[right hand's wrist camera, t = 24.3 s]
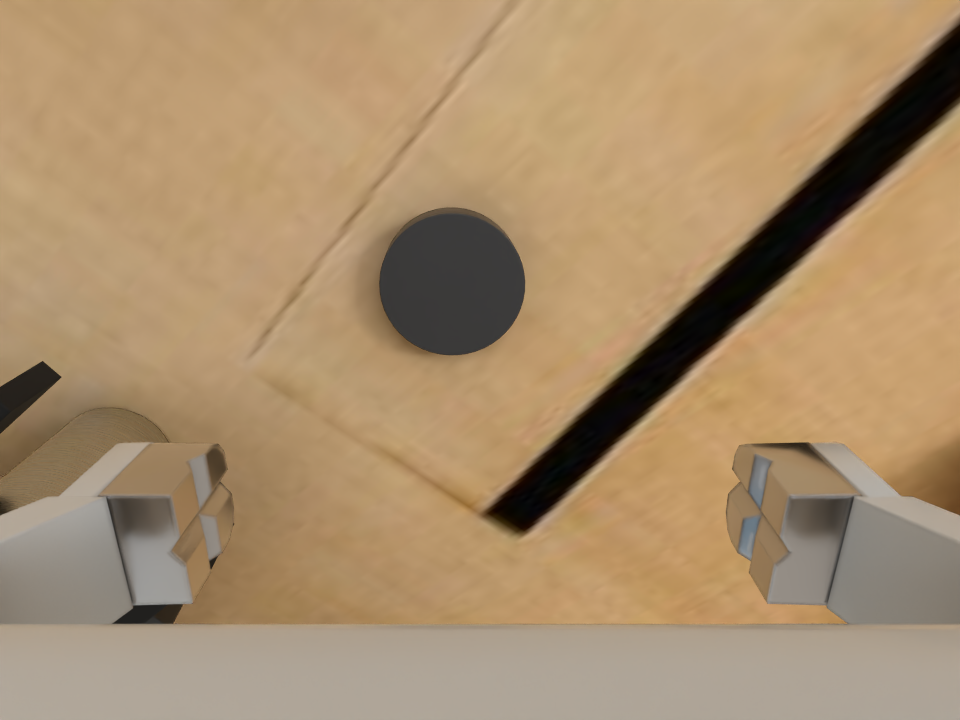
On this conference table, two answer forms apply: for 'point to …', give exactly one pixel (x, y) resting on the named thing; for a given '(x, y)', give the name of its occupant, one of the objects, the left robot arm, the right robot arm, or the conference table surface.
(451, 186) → the conference table surface
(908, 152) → the conference table surface
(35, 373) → the left robot arm
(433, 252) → the lid
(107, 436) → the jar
